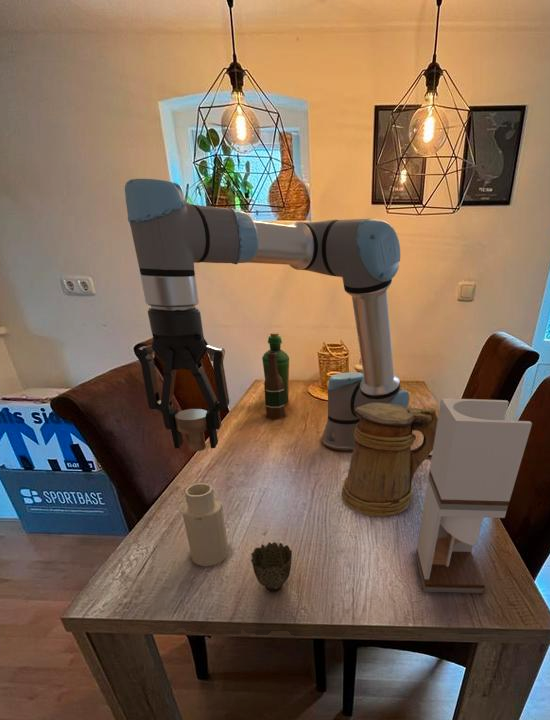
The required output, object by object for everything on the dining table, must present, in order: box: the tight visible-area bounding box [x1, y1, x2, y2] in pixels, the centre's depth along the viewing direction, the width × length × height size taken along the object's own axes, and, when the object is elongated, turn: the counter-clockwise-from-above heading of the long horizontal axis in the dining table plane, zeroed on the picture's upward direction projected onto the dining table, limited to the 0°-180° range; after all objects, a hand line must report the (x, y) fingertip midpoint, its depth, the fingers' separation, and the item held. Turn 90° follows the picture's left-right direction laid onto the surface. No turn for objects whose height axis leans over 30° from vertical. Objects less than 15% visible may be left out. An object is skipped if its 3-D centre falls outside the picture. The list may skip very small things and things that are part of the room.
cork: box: [175, 408, 208, 452], centre depth 71 cm, size 6×6×6 cm
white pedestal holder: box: [415, 397, 533, 594], centre depth 72 cm, size 11×11×35 cm
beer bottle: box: [263, 352, 286, 420], centre depth 148 cm, size 8×8×24 cm
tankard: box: [340, 403, 438, 517], centre depth 99 cm, size 18×24×25 cm
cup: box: [251, 541, 293, 593], centre depth 74 cm, size 8×7×8 cm
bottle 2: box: [261, 332, 290, 405], centre depth 160 cm, size 11×11×28 cm
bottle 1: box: [181, 482, 229, 567], centre depth 79 cm, size 7×7×16 cm
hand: (196, 444), depth 72 cm, fingers closed on cork, 6 cm apart
